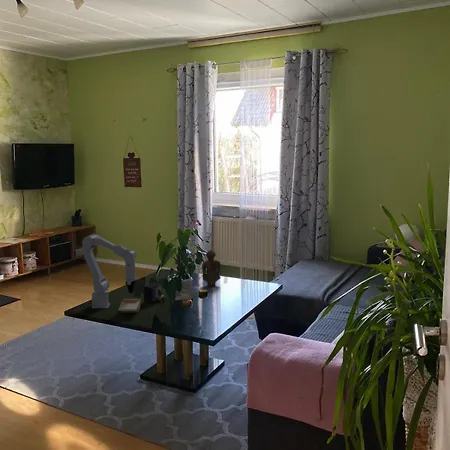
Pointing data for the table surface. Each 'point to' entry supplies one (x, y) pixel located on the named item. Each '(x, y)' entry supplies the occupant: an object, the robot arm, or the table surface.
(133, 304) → the lid
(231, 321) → the table surface
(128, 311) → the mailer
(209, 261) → the clay figurine
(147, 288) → the small box
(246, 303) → the table surface
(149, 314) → the table surface
